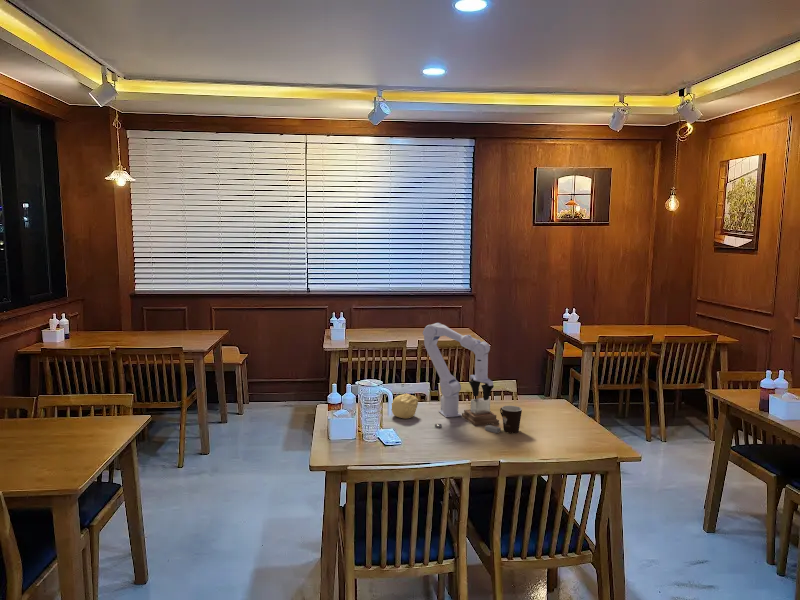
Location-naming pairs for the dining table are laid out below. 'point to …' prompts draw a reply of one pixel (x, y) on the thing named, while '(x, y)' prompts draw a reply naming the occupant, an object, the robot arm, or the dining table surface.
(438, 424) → the steel nut
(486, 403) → the block
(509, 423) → the coffee mug
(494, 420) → the stand
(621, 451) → the dining table surface
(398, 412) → the tan rounded lump
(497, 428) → the grey offcut
